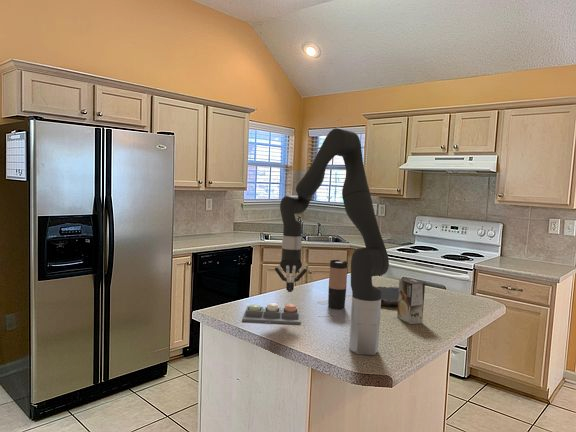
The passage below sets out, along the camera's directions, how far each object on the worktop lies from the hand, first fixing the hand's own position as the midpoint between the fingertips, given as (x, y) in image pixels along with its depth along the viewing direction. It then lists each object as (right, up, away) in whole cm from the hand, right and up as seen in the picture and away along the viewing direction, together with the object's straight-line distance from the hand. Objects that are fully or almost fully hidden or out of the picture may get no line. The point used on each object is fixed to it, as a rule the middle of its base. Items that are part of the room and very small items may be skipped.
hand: (289, 291), depth 167 cm
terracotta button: (0, -8, +1) cm, 8 cm away
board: (+45, -11, +33) cm, 57 cm away
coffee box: (+48, -13, +6) cm, 50 cm away
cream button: (-7, -8, +1) cm, 10 cm away
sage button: (-14, -8, +1) cm, 16 cm away
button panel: (-7, -10, +1) cm, 12 cm away
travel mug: (+20, -10, +20) cm, 30 cm away
